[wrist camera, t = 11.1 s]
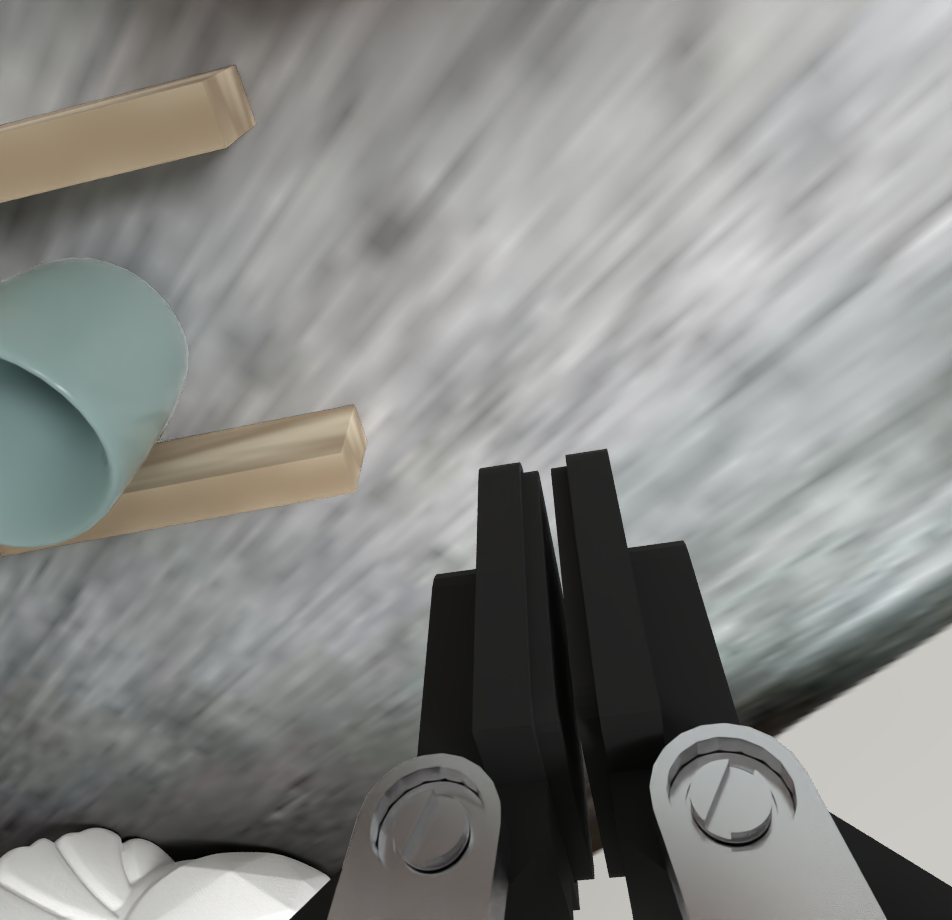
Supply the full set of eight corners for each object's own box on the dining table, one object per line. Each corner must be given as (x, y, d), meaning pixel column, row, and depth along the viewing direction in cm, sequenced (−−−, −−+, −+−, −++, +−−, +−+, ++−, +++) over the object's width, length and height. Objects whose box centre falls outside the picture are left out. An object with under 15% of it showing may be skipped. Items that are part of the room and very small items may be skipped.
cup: (129, 434, 36) (21, 583, 28) (-18, 306, 33) (-191, 432, 25) (248, 342, 34) (168, 476, 25) (101, 192, 30) (-48, 290, 22)
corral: (-209, 178, 30) (-295, 208, 27) (235, 64, 28) (201, 81, 24) (13, 508, 39) (-31, 562, 35) (367, 441, 36) (355, 492, 33)
